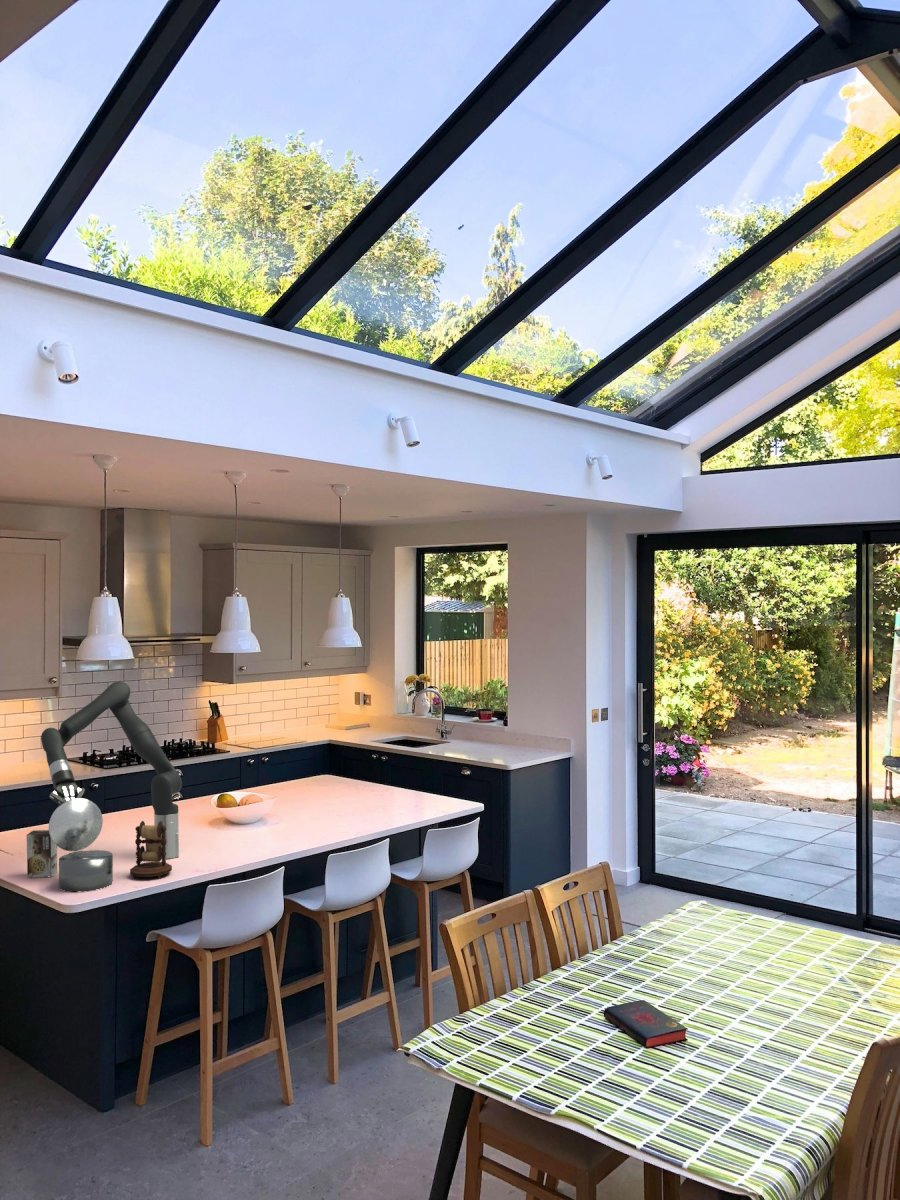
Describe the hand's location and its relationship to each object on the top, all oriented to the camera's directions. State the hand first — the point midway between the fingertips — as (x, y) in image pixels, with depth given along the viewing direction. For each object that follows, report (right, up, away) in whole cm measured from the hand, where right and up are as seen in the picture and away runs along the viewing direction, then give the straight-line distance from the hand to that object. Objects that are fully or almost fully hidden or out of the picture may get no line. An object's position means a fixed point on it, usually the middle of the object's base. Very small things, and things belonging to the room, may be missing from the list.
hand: (73, 812), depth 351 cm
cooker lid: (+2, -4, -1) cm, 5 cm away
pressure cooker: (+8, -24, -8) cm, 26 cm away
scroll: (+28, -24, +3) cm, 37 cm away
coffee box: (-13, -24, +5) cm, 28 cm away
